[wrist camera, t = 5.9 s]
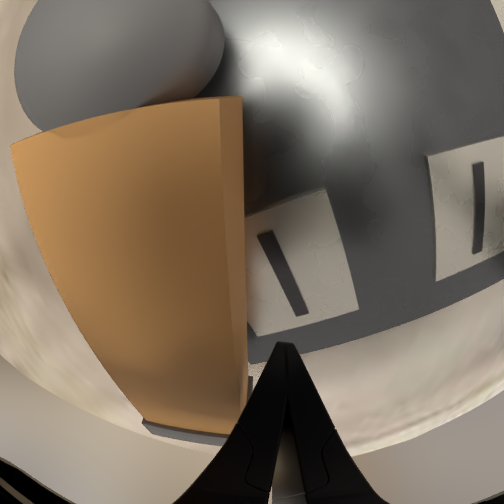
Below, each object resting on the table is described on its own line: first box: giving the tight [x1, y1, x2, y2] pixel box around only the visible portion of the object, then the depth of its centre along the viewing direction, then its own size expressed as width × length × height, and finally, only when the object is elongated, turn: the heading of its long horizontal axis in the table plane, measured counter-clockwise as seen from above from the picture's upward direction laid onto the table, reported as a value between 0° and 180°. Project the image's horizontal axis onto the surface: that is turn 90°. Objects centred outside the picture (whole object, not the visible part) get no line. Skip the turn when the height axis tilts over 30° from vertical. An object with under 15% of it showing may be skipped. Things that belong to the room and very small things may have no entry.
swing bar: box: [10, 0, 253, 446], centre depth 7 cm, size 17×5×3 cm, turn 0°
